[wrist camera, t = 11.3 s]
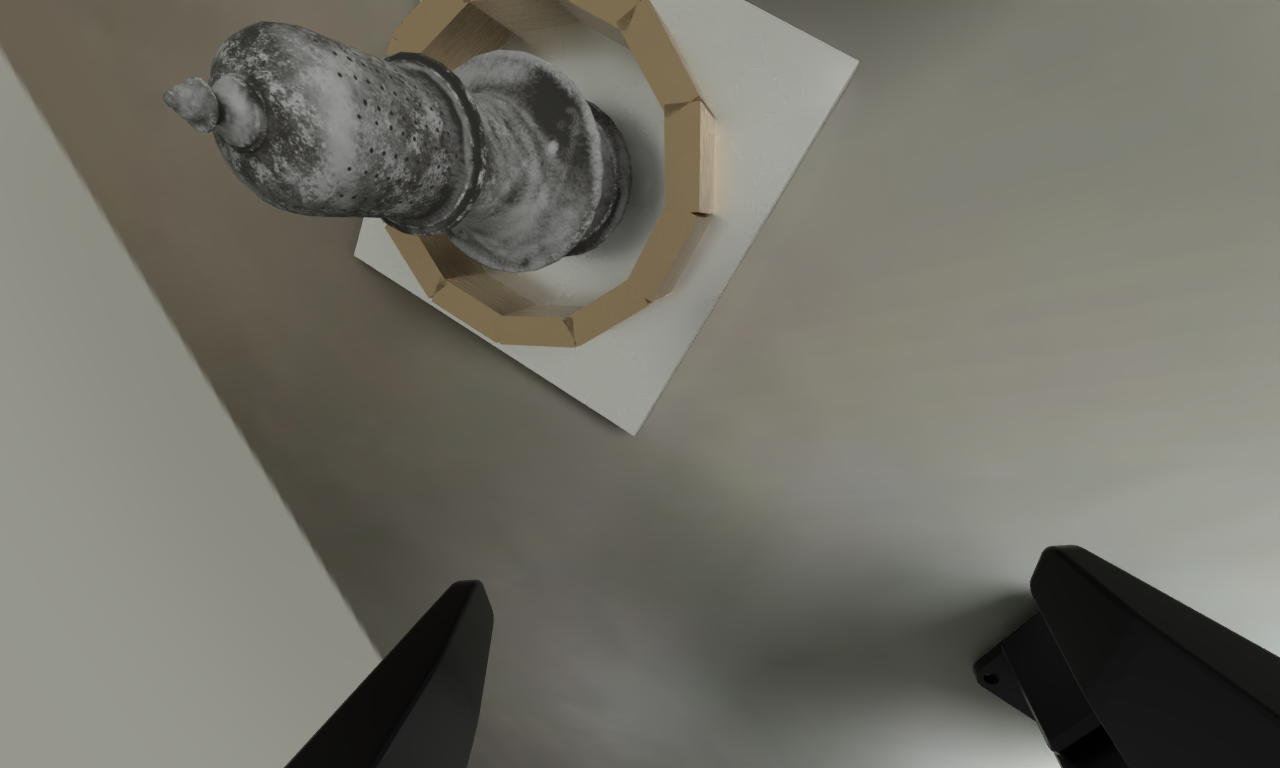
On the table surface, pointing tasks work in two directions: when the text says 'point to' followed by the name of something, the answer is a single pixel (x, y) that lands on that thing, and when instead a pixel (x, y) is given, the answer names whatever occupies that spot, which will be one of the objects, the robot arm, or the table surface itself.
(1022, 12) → the table surface
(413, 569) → the table surface
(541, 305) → the socket plate
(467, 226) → the grey stone tall piece
